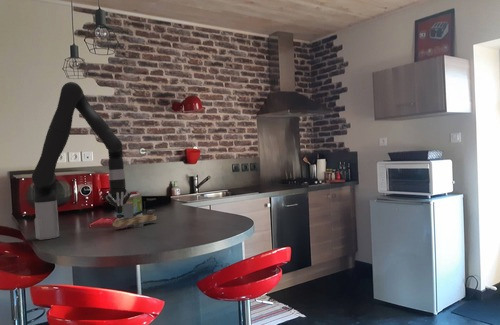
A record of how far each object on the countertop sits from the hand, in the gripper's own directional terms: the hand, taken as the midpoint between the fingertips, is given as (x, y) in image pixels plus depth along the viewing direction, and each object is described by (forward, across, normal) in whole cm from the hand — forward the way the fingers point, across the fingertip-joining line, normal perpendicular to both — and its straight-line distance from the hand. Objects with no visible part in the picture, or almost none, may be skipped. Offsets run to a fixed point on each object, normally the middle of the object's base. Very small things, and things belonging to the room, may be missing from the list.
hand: (119, 213), depth 194 cm
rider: (+4, +5, 0) cm, 6 cm away
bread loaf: (+8, +8, 0) cm, 12 cm away
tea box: (+8, +15, +18) cm, 25 cm away
